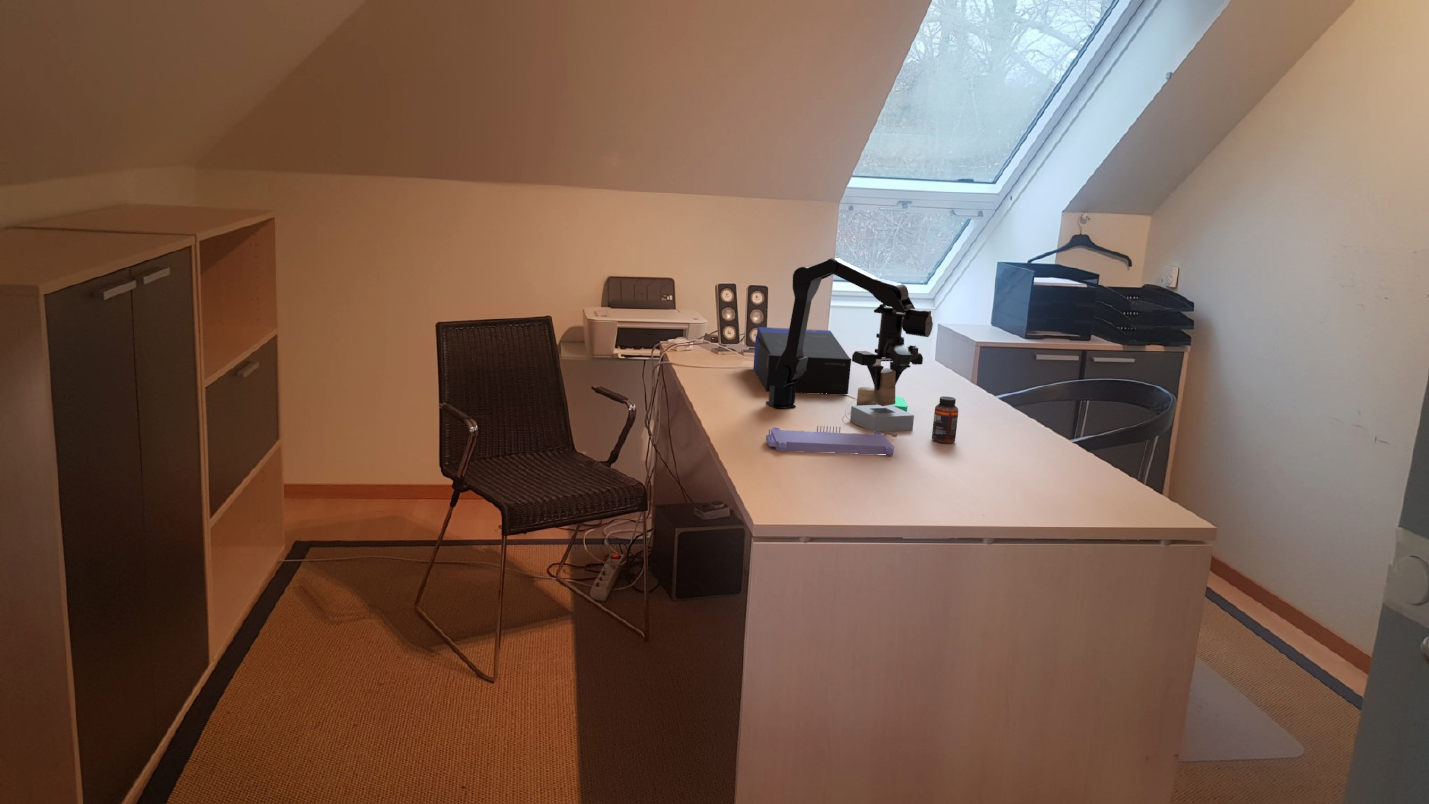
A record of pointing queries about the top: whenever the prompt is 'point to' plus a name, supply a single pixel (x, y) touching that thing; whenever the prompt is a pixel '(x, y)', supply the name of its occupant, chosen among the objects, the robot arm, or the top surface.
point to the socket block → (882, 418)
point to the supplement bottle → (945, 420)
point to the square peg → (886, 388)
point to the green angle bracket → (900, 403)
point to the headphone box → (823, 366)
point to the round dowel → (865, 396)
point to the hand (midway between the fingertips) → (884, 389)
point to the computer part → (829, 442)
